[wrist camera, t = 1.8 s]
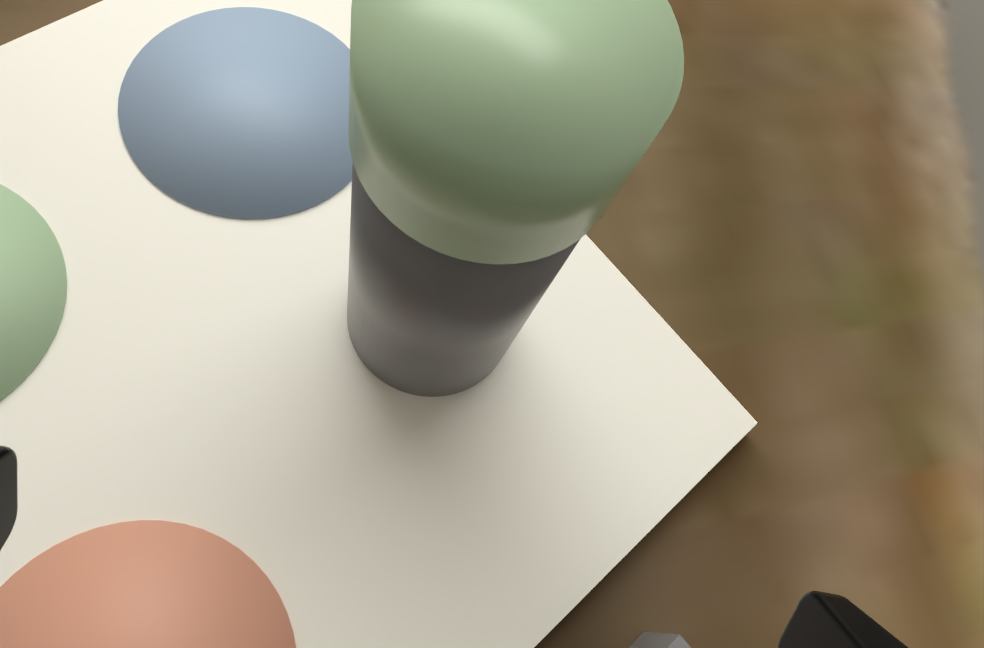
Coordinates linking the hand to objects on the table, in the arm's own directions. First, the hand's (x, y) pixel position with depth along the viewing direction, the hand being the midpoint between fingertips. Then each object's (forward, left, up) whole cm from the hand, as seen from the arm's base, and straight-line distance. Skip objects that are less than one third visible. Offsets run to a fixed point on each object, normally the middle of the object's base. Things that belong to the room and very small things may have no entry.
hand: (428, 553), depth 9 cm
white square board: (+8, 0, -13) cm, 16 cm away
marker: (+5, -6, -13) cm, 15 cm away
